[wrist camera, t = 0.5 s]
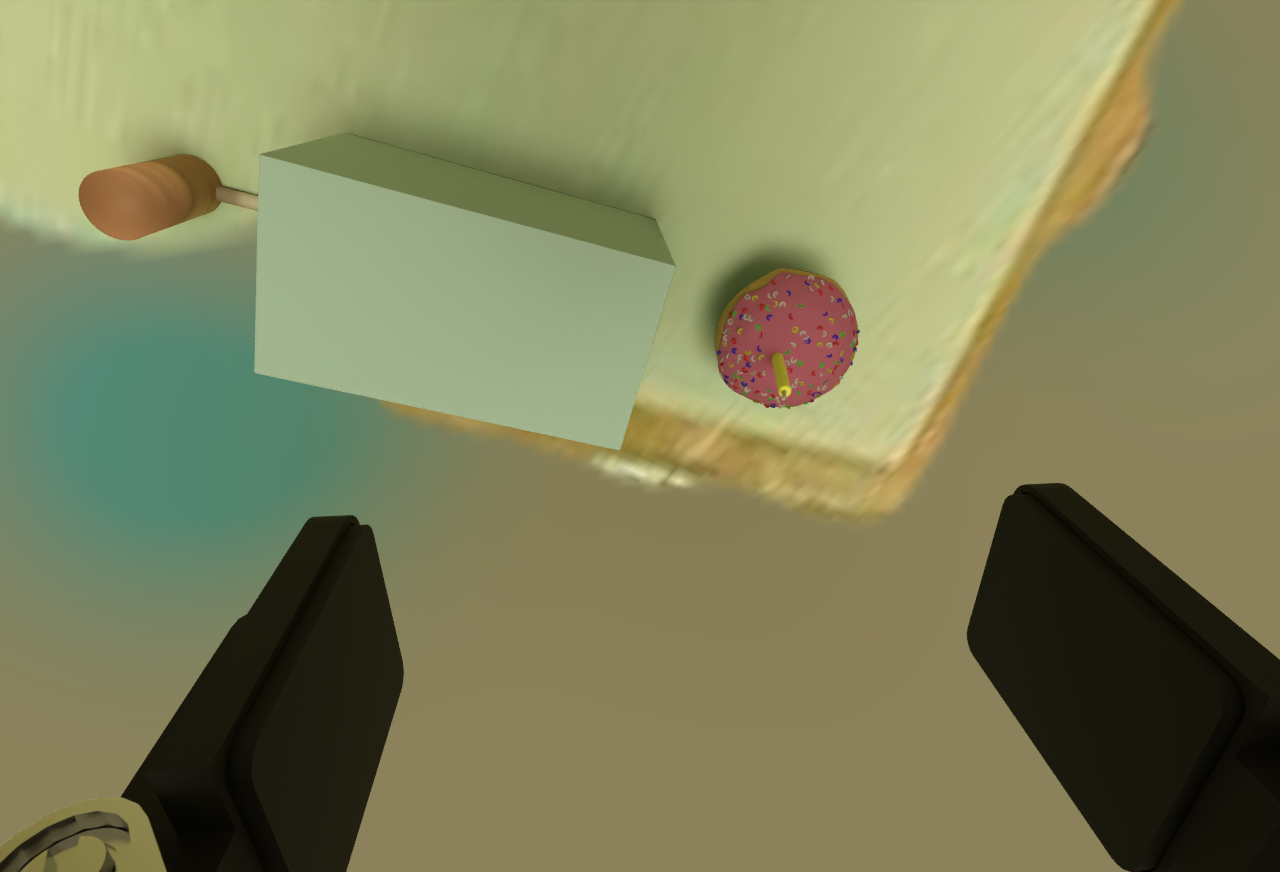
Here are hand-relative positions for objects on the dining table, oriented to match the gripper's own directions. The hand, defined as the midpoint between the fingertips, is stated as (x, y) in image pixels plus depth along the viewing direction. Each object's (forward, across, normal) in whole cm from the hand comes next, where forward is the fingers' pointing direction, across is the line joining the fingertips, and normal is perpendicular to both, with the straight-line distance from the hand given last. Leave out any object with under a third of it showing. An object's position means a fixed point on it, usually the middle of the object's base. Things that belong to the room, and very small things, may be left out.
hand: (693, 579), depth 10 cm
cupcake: (+34, -10, +7) cm, 37 cm away
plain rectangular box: (+34, +7, +3) cm, 35 cm away
